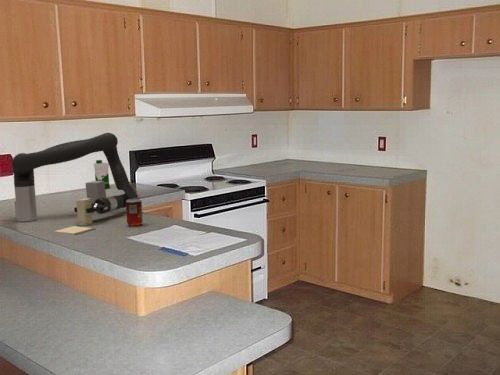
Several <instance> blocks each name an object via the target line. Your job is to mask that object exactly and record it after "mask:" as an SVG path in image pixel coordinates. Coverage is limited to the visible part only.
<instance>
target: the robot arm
mask: <svg viewBox="0 0 500 375" xmlns="http://www.w3.org/2000/svg"><path fill="white" fill-rule="evenodd" d="M118 143H119V142H118V138H117V135H115V134H114V133H111V132H104V133H101V134H99V135H97V136H93V137H90V138H86V139H79V140H73V141H68V142H63V143H59V144H56V145H53V146H51V147H48V148H45V149H43V150H40V151H35V152H30V153H25V152H22V153H18V154H16V155H15V156H14V157H13V158H12V160H11V167H12V168H13V169H12V170H13V186H14V198H15V201H14V209H15V220H16V221H17V222H20V223H21V222H22V223H23V222H32V221H36V220H38V212H37V211H38V210H37V198H36V189H35V188H36V187H35V171H34V170H35V169H38V168H41V167H44V166H49V165H50V166H51V165H56V164H62V163H66V162H71V161H74V160H77V159H81V158H83V157H85V156H88V155H89V154H93V153H98V152H103V154H104V156H105V158H106V160H107V163H109V169H110V172H111V173H110V174H111V176H112V179H113V181H114V185H115V187H116V189H117V190H118V191H123V192H124V193H123V194H119V195H112V196H106V197H104V198H99V199H96V200H95V202H94V203H91V208H88V209H87V213H92V214H93V213H97V214H99V215H102V214H107V213H110V212H113V211H115V210H120V209H126V201H127V200H128V199H139V197H138V194H137V191H135V189H134V187H133V186H132V184H131V183H130V181H129V178H128V174H127V172H126V170H125V168H124V165H123V163H122V161H121V158H120V156H119V151H118ZM73 210H74V213H77V206H76V207H74V208H73Z"/></svg>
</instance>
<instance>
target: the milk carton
mask: <svg viewBox="0 0 500 375" xmlns="http://www.w3.org/2000/svg"><path fill="white" fill-rule="evenodd" d="M93 167H94V178H95V180H94V181H104V183H105V190H108V189H111V186H110V174H109V168H110V166H109V163H108V162H103V160H102V159H98V160H97V159H96V160H95V163H93Z"/></svg>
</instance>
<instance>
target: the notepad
mask: <svg viewBox="0 0 500 375" xmlns="http://www.w3.org/2000/svg"><path fill="white" fill-rule="evenodd" d="M95 230H96V228H94V227H84V226H76V225H75V226H69V227H64V228H61V229H58V230H55V231H54V233H61V234H69V235H80V234H85V233H88V232H92V231H95Z"/></svg>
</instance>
